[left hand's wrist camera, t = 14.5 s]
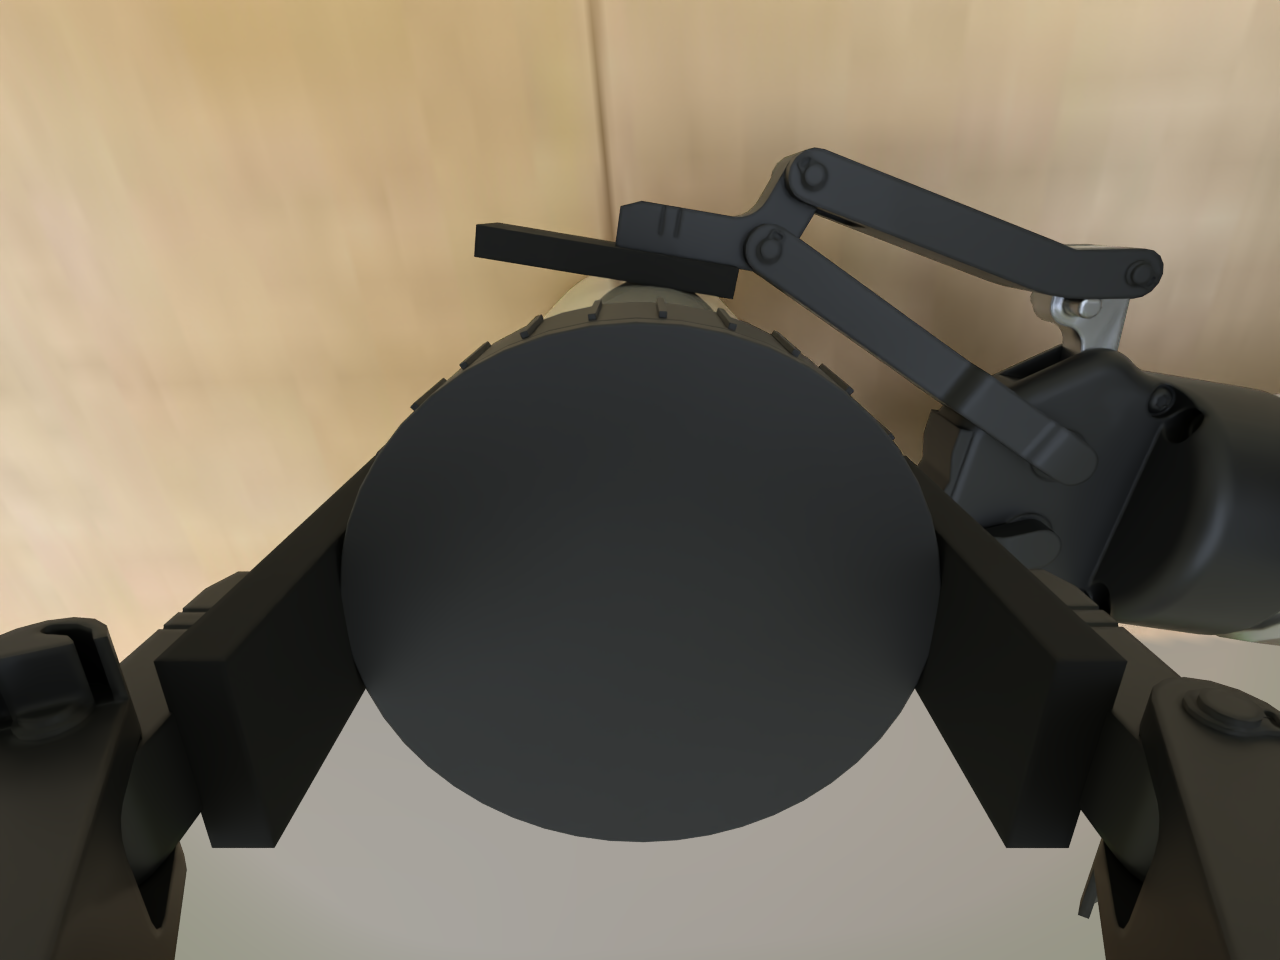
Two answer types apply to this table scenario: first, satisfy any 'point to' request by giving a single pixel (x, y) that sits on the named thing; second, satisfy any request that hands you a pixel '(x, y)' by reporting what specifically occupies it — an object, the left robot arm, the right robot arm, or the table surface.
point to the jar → (629, 296)
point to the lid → (640, 575)
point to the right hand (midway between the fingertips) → (476, 399)
